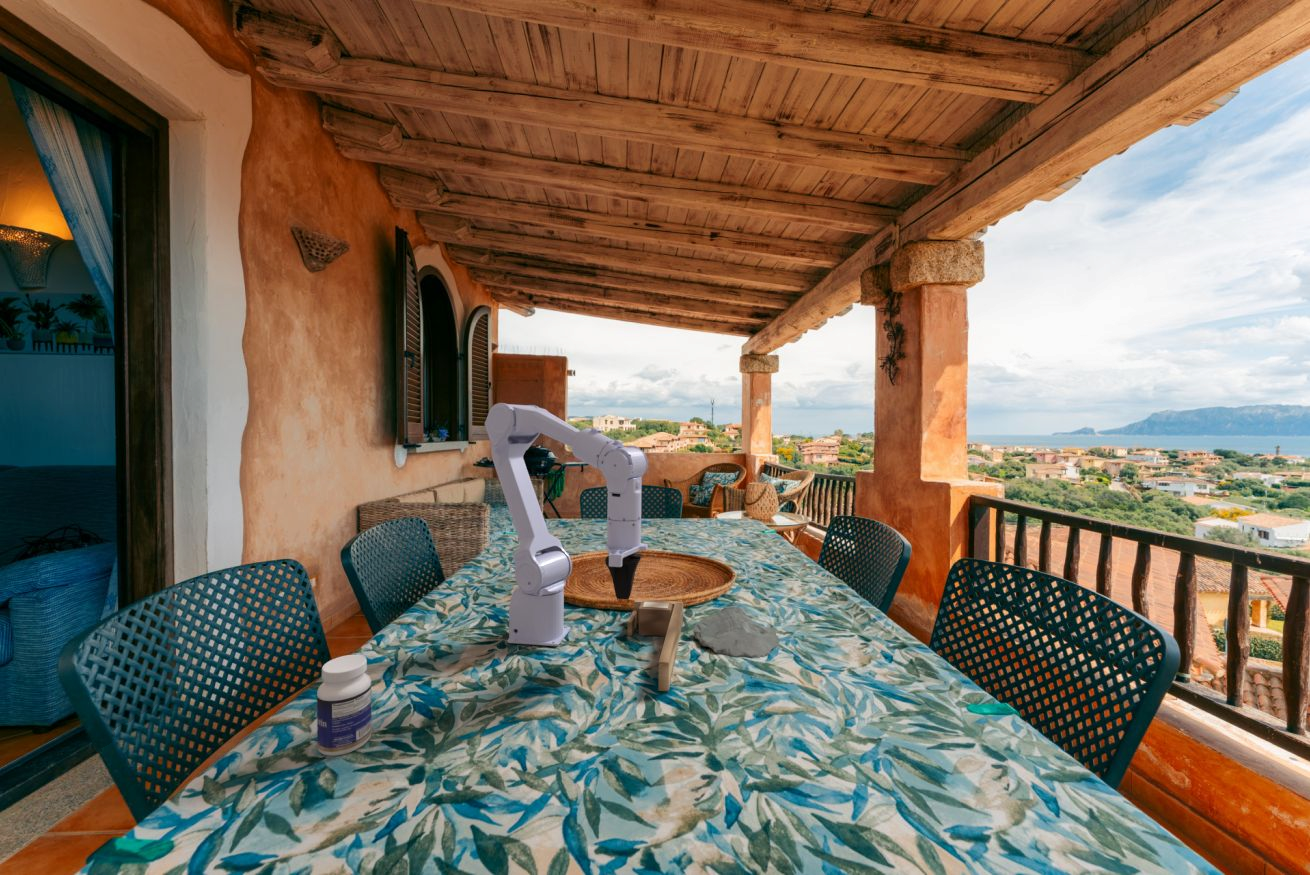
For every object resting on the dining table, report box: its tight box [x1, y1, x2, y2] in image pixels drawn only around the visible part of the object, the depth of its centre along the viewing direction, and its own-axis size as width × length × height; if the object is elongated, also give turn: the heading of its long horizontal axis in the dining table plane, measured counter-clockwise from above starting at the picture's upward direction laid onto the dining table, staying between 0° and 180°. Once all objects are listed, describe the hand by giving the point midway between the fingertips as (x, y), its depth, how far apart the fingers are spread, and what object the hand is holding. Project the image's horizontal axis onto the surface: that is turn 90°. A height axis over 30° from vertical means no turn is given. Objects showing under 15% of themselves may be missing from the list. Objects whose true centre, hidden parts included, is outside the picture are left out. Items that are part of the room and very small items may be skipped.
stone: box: [692, 605, 780, 659], centre depth 94 cm, size 16×4×15 cm
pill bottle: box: [316, 654, 373, 757], centre depth 62 cm, size 6×6×10 cm
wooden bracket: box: [626, 598, 684, 692], centre depth 89 cm, size 10×28×4 cm, turn 172°
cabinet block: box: [638, 601, 672, 637], centre depth 97 cm, size 6×4×5 cm, turn 82°
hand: (623, 598), depth 86 cm, fingers closed
